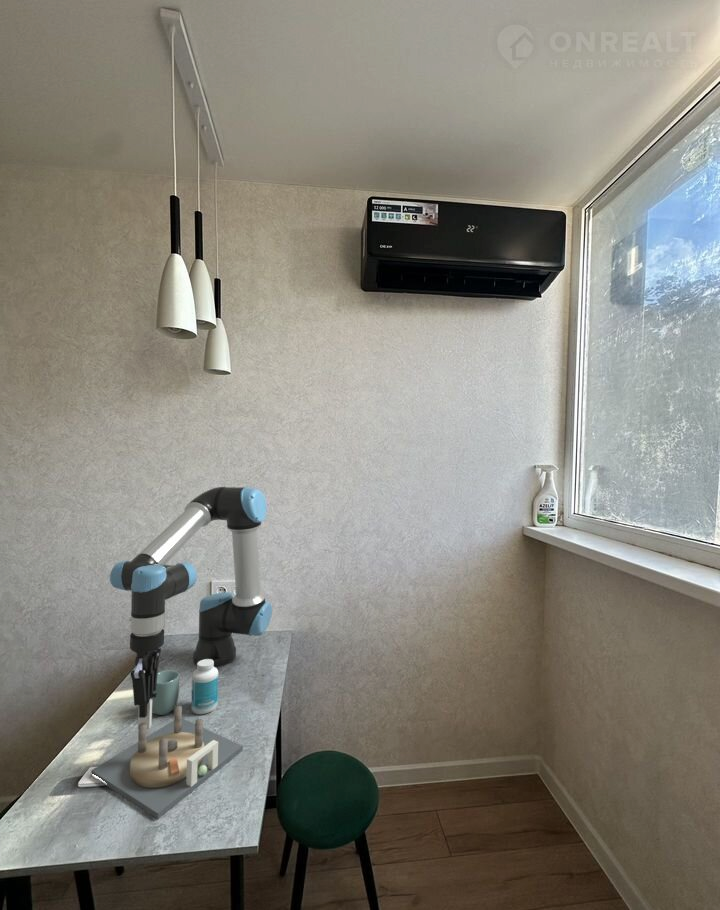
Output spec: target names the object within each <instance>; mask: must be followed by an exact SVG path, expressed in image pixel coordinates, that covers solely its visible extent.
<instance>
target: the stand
mask: <svg viewBox="0 0 720 910" xmlns="http://www.w3.org/2000/svg"><path fill="white" fill-rule="evenodd" d="M181 732H186V733H191V734H194V735H195V723H194V722H191V721H190V720H188V719H185V718H183V717H182V727H181ZM170 733H174V720H172V721H170V722H169V723H167V724H165V725H164V726H162V727H161V728H159V729H157V730H156V731H154V732H152V733H151V734H149V735H147V742H149V741H150V740H152V739H154V738H157V737H159V736H162V735H166V734H170ZM203 743H204V747H203V748H201V749H200V750H199V751H197V752H196V753H195V754H193V755H192V756H190V757H189V758H188V759H187V778H185V779H183V780H181V781H179V782H177V783H175V784H172V785H169V786H164V787H158V788H148V787H143V786H140V785H137V784H136V783H135V782H134V781H133V780H132V779H131V776H130V763H131V759H132V757H133V755H134V754H135V752H136V751H137V750H138V741H137V742H136V743H134V744H132V745H131V746H128V748H126V749H124V750H122V751H121V752H119V753H118V754H116V755H115V756H113V757H111V758H109V759H108V760H106V761H104V762H103V763H101V764H99V765H98V766H96V767H94V768H93V769H91V770H90V773H92V774H94V775H96V776H98V777H99V778H101V779H102V780H103V781H105V782H106V783H107V785H105V786H106V787H108V789H109V788H110V789H111V790H113V792H116V793H117V794H119V795H120V796H122V797H123V798H125V799H126V800H128V801H129V802H131V803H132V804H134V805H135V806H136V807H138V808H140V809H141V810H143V811H145V812H146V813H147V814H149V815H150V816H152V817H153V818H155V819H157V820H160V819H161V818H162V817H163V816H164V815H165V814H167V812H169V811H170V810H171V809H173V808H174V807H175V806H176V805H177V804H179V803H180V802H181V801H183V800H184V799H185V798H186V797H187V796H188V795H190V794H191V793H193V792H194V790H196V789H197V788H198V787H200V786H201V785H202V784H203V783H204V782H206V781H207V780H208V779H210V778H211V777H212V776H213V775H214V774H216V773H217V772H219V770H221V769H222V768H223V767H224V766H226V765H227V764H228V763H229V762H230V761H232V760H233V759H234V758H235V757H237V756H238V755H239V754H241V752H243V749H244V748H243V747H244V746H243V745H241V744H239V743H237V742H235V741H233V740H230V739H228V738H227V737H225V736H223V735H220V734H218V733H216V732H213V731H211V730H208V729H207V728H205V727H203ZM203 756H204V757H203ZM202 757H203V761H202V763H201V765H200V766H199V767H198V760H199V759H201V758H202ZM197 767H198V769H197Z"/></svg>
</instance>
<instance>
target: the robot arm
mask: <svg viewBox="0 0 720 910" xmlns="http://www.w3.org/2000/svg"><path fill="white" fill-rule="evenodd" d="M267 510H268V506H267V500H266V497H265V495H264V493H263V492H262V491H261V490H260V489H258V488H254V487H253V488H252V487H248V486H247V487H239V486H238V487H234V486H233V487H232V486H230V487H229V486H218V487H214V488H210V489H209V490H206V491H205V492H202V493H201V494H199V495H197V496H196V497H195V498H193V499H192V500H191V501H190V502H188V503H187V504H186V506H185V507H184V511H183V512H182V513H181V514H180V515H179V516H178V517H177V518H176V519H175V520H174V521H172V522H171V524H169V525H168V526H167V527H166V528H165V529H164V530H163V531H161V532H160V534H159V535H157V536H156V538H154V539H153V540H152V541H151V542H150V543H149V544H148V545H147V546H146V547H145V548H143V549H142V550H141V551H140V552H139V553H138V554H137V555H136V556H135V557H134V558H133V559H132V560H125V561H123V560H121V561H119V562H117V563H116V564H114V566H113V567H112V569H111V571H110V575H109V582H110V584H111V586H112V587H113V588H115V589H118V590H123V591H126V592H129V591H131V601H130V603H131V605H130V606H131V607H130V609H131V610H130V617H129V619H128V621H129V622H130V635H129V636H130V638H129V649H130V651H132V652H134V653H136V657H135V661H134V665H135V669H134V670H133V669H132V670H131V671H130V678H131V681H132V692H133V695H132V696H133V705H134V706H138V708H137V709H138V710H137V714H138V715H137V730H139V725H140V724H142V723H146V724H147V730H150V729H151V728H152V721H153V719H152V718H153V712H152V699H151V698H155V697H156V695H157V693H155V694H154V691H155V690H156V684H157V675H158V672H159V663H160V658H161V652H162V649H161V647H162V646H163V645H164V643H165V629H164V628H165V627H166V623H165V622H166V601H168V599H170V598H172V597H173V598H174V597H175V596H178V595H179V594H182V593H185V592H187V591H188V590H190V589H191V588H192V587H194V586H195V584H196V583H197V580H198V572H197V570H196V568H195V566H194V565H193V564H191V563H190V562H179V563H176V564H175V565H174V564H173V565H172V564H167V563H168V562H169V561H170V560H171V559H172V558H173V557H174V556H175V555H176V554H177V552H179V551H180V550H181V549H182V548H183V547H184V545H185V544H186V543H188V542H189V540H190V539H191V538H192V537H193V536H194V535H195V534H196V533H197V532H198V531H199V530H200V529H201V528H202V527H206V526H208V525H209V524H210V523H211V522H212V521H226V528H227V529H228V530H229V531H230V532H231V537H232V553H233V555H232V556H233V567H234V582H235V583H234V584H235V595H233V593H231V592H225V591H224V592H218V593H213V594H209V595H207V596H205V597H203V598H202V599H201V600H200V602H199V609H198V613H199V614H198V615H199V616H198V641H197V643H196V646H195V650H194V651H193V654H192V662H193V664H194V665H195V666H197V663H198V662H199V661H201V660H204V659H211V660H213V661H214V666H213V667H215V668H217V667H222V666H225V665H228V664H230V663H232V662H233V661H234V660H235V659H236V657H237V648H236V647H237V646H235V641H234V639H233V635H232V634H237V635H244V636H245V635H246V636H249V637H251V636H253V637H254V636H256V637H257V636H258V637H259V636H262V635H263V634H264V633H265V632H266V630H267V629H268V628H269V625H270V623H271V619H272V614H273V606H272V604H271V603H270V602H269V601H266V595H265V593H264V592H263V591H261V577H260V575H261V574H260V560H259V557H260V556H259V543H258V541H259V540H258V529H259V528H260V527H261V526H262V522H264V520H265V519H266V516H267V512H268V511H267Z"/></svg>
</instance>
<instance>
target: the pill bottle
mask: <svg viewBox="0 0 720 910" xmlns="http://www.w3.org/2000/svg"><path fill="white" fill-rule="evenodd" d="M213 666H214V661H213V660H211V659H204V660H201V661H199V662H198V663H197V665H196V669H195V670H194V671H193V673H192V674H191V701H190V702H191V703H190V704H191V707H190V708H191V711H192V712H193V713H194V714H196V715H205V714H206V715H207V714H209V713H211V712H213V711H214V710H216V708H217V707H218V705H219V670H218V668H217V667H213Z"/></svg>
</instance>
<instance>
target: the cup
mask: <svg viewBox="0 0 720 910" xmlns="http://www.w3.org/2000/svg"><path fill="white" fill-rule="evenodd" d="M155 693H157V695H156V697H155V698H151V699H152V714H154V715H157V716H164V715H168V714H169V713H172V711H174V708H175V707H177V705H178V701H179V696H180V695H179V694H180V673H179V672H178V671H177V670H169V669H168V670H161V671H158V675H157V684H156V690H155V691H154V694H155Z"/></svg>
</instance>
